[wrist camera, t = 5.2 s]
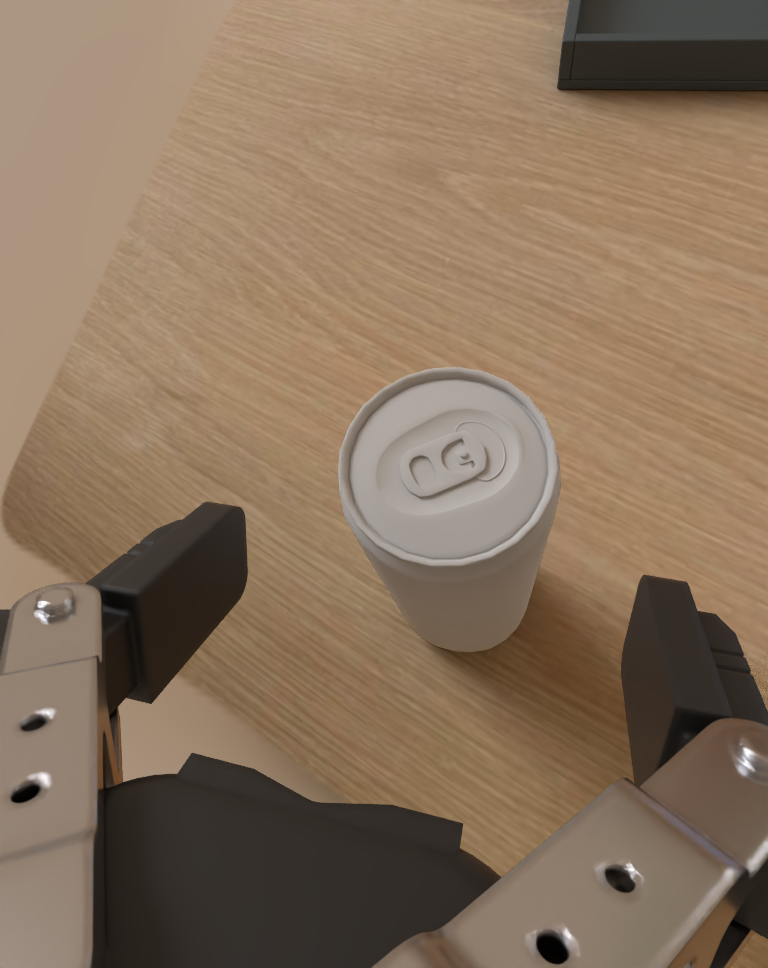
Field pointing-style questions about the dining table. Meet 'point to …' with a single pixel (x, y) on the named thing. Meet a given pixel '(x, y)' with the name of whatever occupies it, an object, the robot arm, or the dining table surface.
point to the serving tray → (665, 45)
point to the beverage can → (452, 500)
